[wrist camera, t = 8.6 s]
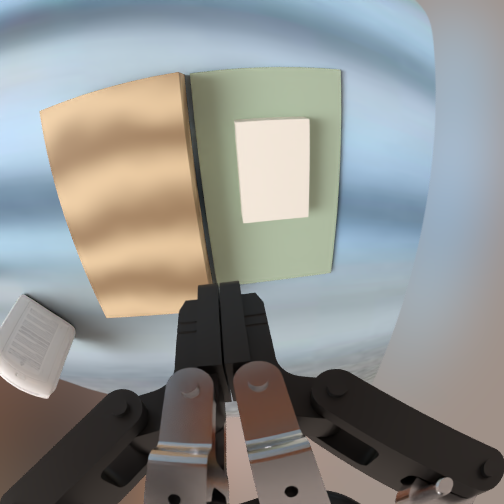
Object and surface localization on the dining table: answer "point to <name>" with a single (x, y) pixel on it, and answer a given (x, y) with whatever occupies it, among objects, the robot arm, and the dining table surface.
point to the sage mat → (226, 170)
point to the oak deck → (131, 193)
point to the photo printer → (33, 347)
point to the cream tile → (273, 167)
